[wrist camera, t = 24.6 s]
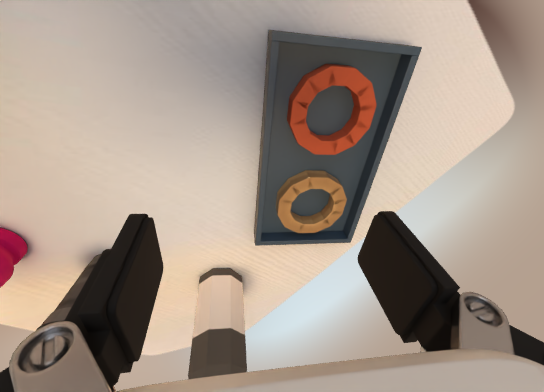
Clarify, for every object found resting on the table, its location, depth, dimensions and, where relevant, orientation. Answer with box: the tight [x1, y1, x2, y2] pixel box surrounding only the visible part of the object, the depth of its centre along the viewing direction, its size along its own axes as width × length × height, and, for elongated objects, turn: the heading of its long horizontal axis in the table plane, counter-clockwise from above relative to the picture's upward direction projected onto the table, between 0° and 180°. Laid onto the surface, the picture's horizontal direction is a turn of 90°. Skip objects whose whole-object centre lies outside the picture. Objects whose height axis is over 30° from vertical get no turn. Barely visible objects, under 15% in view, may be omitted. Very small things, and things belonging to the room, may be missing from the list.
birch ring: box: [276, 170, 347, 233], centre depth 37 cm, size 10×10×2 cm
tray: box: [254, 30, 422, 245], centre depth 33 cm, size 28×16×3 cm, turn 175°
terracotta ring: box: [287, 64, 376, 155], centre depth 29 cm, size 10×10×2 cm
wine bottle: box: [188, 269, 247, 379], centre depth 34 cm, size 8×8×30 cm
